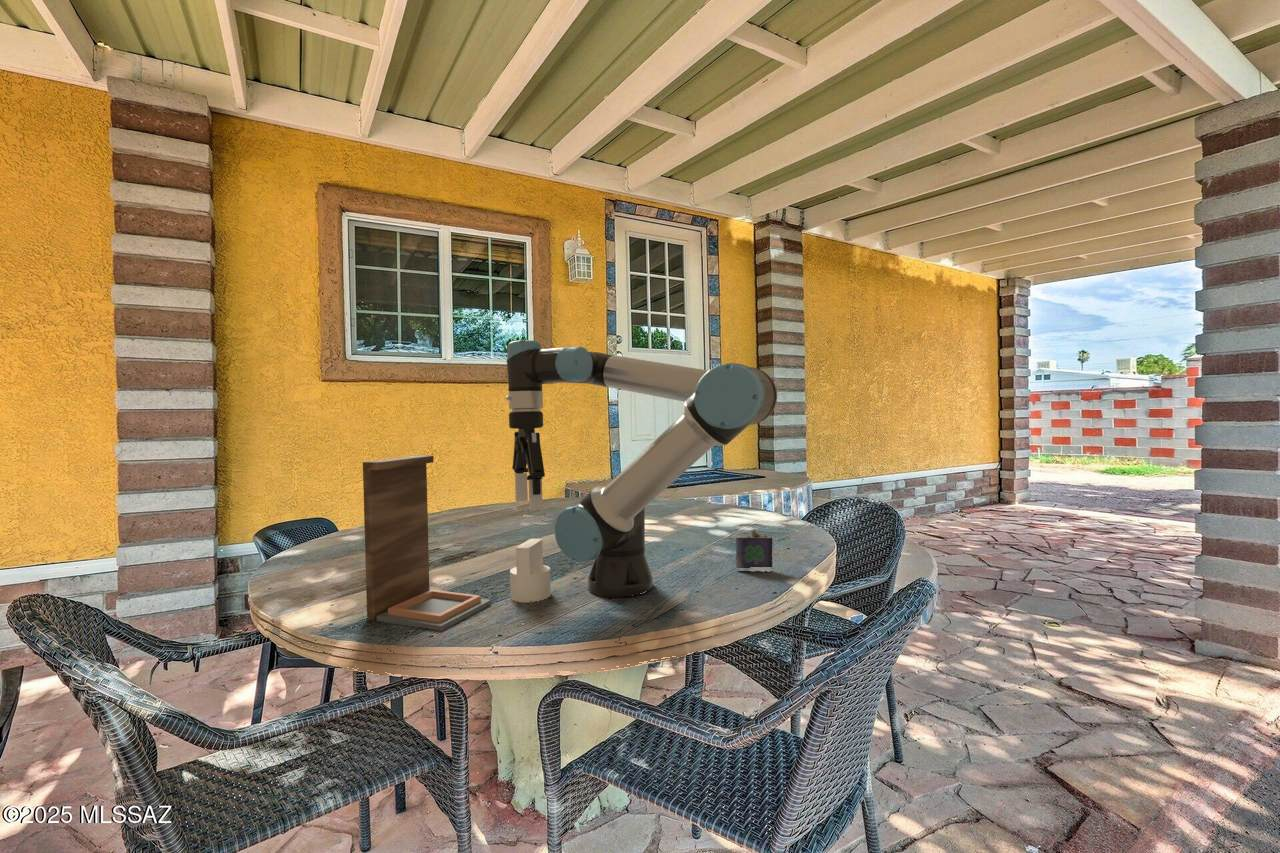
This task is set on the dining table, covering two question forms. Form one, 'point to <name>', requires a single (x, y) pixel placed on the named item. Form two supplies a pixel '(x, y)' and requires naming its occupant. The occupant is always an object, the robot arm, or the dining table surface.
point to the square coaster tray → (434, 609)
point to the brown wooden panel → (395, 531)
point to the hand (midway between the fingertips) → (528, 505)
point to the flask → (753, 550)
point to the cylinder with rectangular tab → (530, 573)
